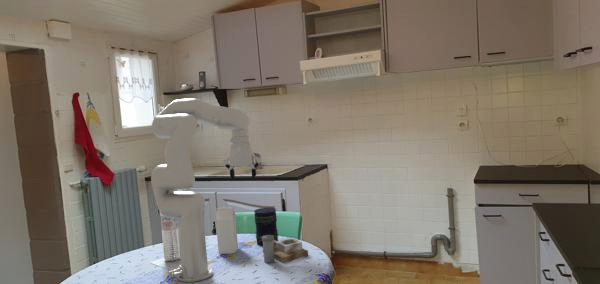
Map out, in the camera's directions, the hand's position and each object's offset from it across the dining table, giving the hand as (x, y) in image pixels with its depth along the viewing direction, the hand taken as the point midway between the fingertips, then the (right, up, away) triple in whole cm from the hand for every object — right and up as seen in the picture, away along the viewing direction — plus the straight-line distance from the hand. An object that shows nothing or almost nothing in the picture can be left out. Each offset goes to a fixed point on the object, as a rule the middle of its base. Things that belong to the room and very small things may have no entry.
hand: (243, 178), depth 199 cm
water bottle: (-27, -33, -16) cm, 46 cm away
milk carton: (-5, -31, -10) cm, 33 cm away
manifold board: (+20, -30, -19) cm, 40 cm away
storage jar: (+11, -29, -2) cm, 31 cm away
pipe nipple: (+14, -31, -26) cm, 43 cm away
